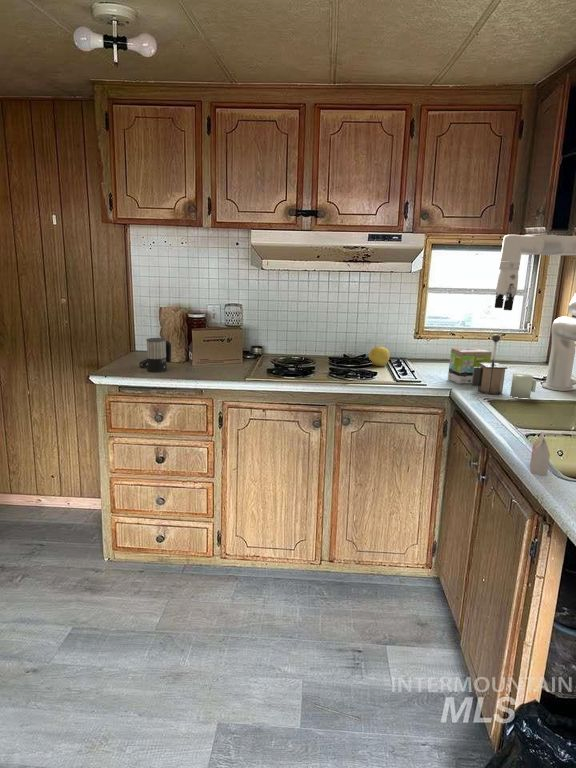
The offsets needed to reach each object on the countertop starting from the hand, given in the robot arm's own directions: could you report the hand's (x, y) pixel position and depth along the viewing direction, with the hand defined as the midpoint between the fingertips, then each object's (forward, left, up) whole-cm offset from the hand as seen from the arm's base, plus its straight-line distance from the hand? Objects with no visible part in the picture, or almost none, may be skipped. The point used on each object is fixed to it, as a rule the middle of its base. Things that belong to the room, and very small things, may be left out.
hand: (502, 309), depth 217 cm
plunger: (+2, +1, -26) cm, 27 cm away
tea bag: (+20, +85, -35) cm, 95 cm away
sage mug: (-8, +8, -35) cm, 37 cm away
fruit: (+41, -48, -35) cm, 72 cm away
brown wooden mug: (+3, +1, -35) cm, 35 cm away
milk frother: (+152, -27, -35) cm, 158 cm away
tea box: (+5, -18, -35) cm, 40 cm away
